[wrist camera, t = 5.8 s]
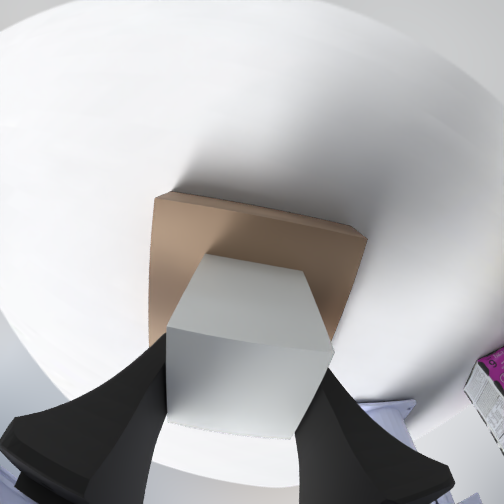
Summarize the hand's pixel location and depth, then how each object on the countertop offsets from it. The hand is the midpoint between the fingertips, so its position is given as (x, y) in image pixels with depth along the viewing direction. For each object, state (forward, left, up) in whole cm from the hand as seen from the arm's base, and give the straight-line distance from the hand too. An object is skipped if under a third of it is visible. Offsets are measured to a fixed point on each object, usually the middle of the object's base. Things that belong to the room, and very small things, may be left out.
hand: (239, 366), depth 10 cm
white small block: (0, 0, -4) cm, 4 cm away
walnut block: (0, 0, -7) cm, 7 cm away
